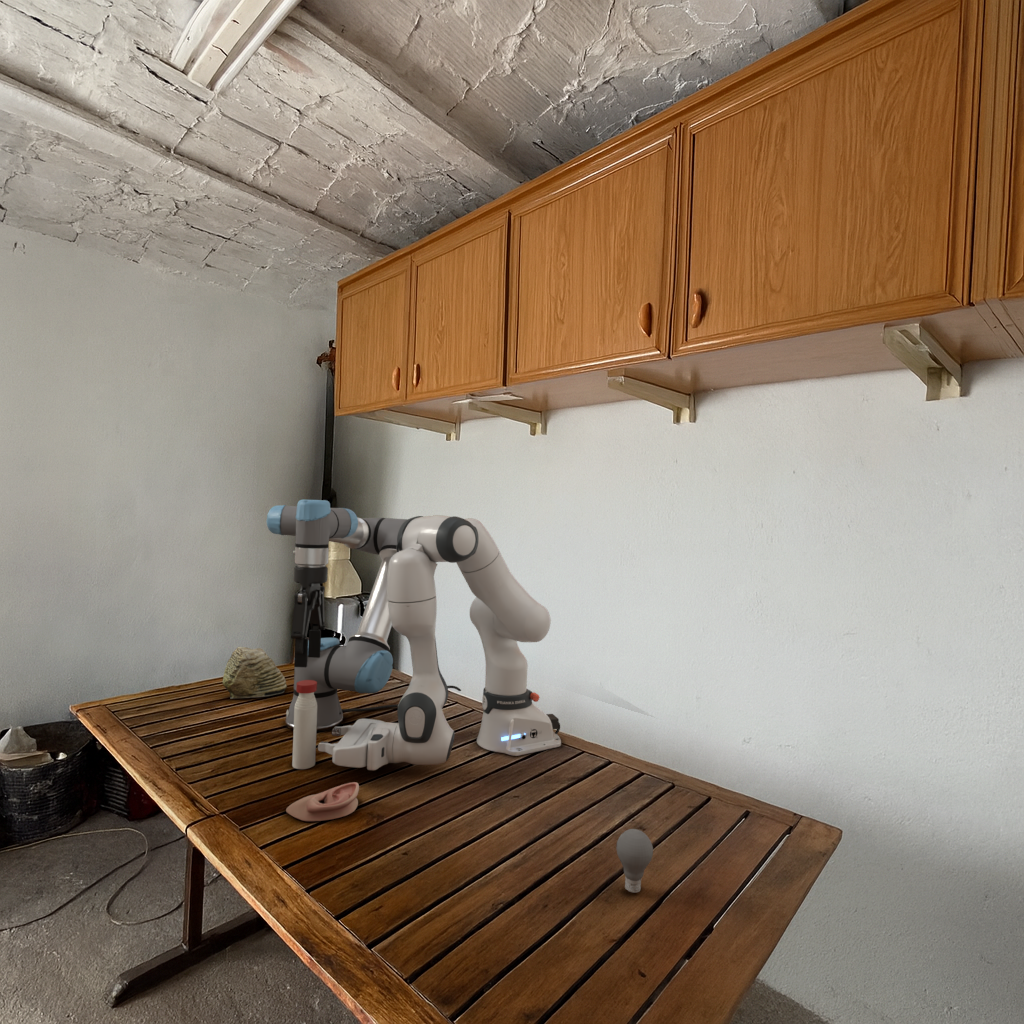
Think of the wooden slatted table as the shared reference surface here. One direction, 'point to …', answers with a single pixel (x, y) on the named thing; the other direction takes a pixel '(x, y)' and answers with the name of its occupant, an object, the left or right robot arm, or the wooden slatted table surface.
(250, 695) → the fossil
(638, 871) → the light bulb
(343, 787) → the anatomical model
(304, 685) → the cap
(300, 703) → the bottle
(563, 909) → the wooden slatted table surface
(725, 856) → the wooden slatted table surface
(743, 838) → the wooden slatted table surface
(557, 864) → the wooden slatted table surface
